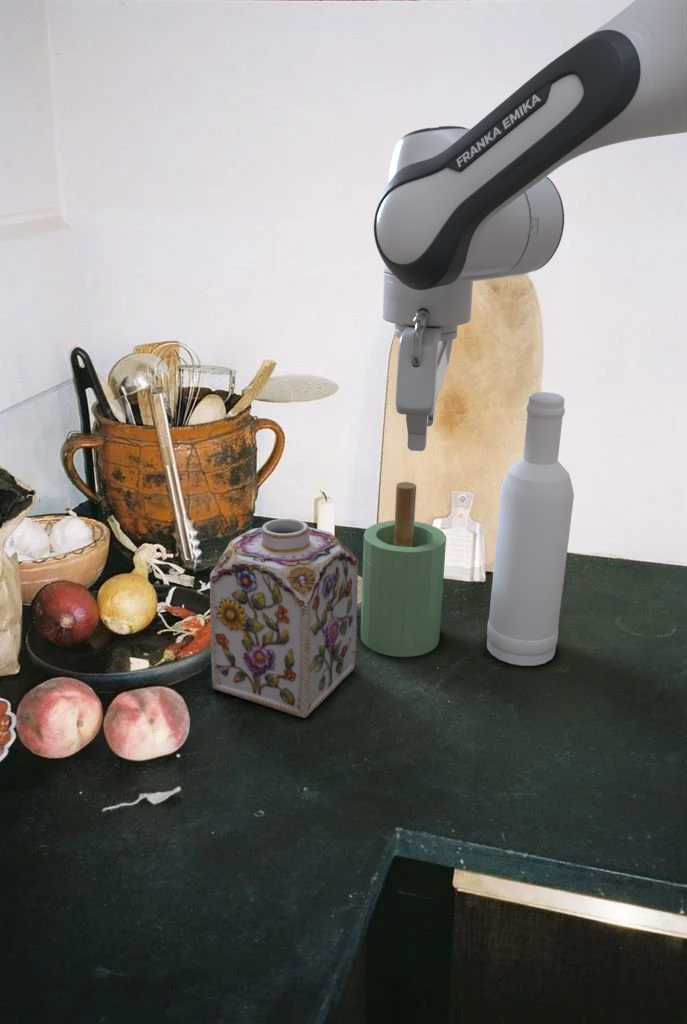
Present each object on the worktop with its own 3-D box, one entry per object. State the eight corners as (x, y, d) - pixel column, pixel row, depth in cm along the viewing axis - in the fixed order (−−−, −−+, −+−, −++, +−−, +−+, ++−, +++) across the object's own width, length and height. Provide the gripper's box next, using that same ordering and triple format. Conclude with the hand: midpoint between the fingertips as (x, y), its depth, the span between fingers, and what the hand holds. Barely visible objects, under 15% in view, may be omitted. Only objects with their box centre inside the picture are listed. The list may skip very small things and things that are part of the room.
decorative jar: (305, 722, 93) (307, 557, 87) (208, 691, 98) (203, 533, 92) (358, 668, 103) (363, 516, 97) (268, 643, 108) (267, 496, 102)
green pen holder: (441, 623, 114) (448, 524, 109) (435, 661, 105) (443, 555, 100) (366, 615, 115) (370, 517, 110) (355, 652, 107) (358, 547, 102)
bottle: (509, 672, 103) (536, 408, 92) (472, 640, 110) (493, 390, 99) (569, 659, 106) (602, 401, 95) (530, 628, 113) (556, 384, 102)
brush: (415, 625, 111) (424, 481, 105) (412, 640, 108) (421, 491, 101) (385, 622, 112) (392, 478, 105) (381, 637, 108) (388, 489, 102)
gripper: (452, 320, 83) (444, 467, 88) (464, 291, 102) (456, 414, 107) (382, 317, 84) (378, 463, 89) (406, 289, 103) (402, 411, 108)
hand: (421, 436), depth 98 cm, fingers open, 8 cm apart
